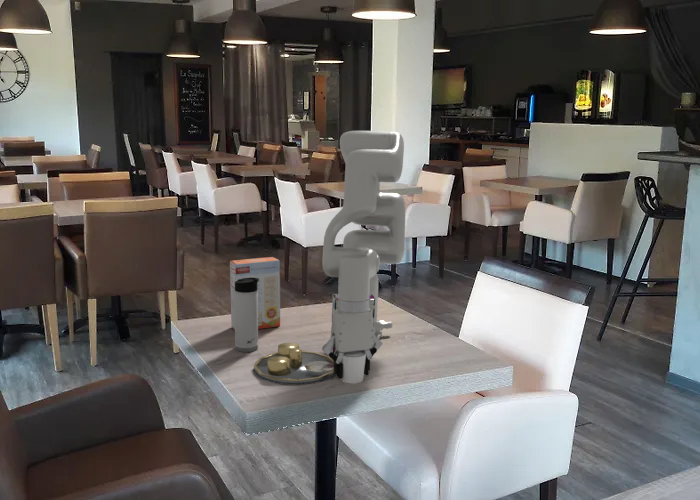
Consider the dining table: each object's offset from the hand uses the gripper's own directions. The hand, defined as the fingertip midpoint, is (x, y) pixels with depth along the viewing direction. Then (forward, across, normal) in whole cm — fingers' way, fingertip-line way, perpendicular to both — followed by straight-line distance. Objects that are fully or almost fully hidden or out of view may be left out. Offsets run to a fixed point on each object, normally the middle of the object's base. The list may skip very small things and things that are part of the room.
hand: (351, 374), depth 171 cm
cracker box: (+1, +12, -48) cm, 49 cm away
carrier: (+1, +11, -11) cm, 16 cm away
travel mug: (+1, +19, -30) cm, 36 cm away
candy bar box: (+1, -7, -17) cm, 18 cm away
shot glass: (+1, 0, 0) cm, 1 cm away
